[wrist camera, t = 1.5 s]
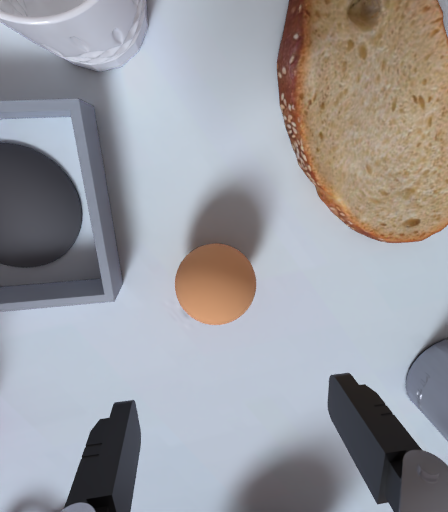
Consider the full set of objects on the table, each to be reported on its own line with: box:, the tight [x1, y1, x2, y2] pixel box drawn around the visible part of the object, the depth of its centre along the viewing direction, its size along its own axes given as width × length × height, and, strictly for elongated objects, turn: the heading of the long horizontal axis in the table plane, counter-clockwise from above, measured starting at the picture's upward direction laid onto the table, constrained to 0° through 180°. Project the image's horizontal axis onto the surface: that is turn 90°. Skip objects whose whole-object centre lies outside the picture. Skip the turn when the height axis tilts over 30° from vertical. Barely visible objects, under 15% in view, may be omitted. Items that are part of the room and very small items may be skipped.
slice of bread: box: [277, 0, 448, 243], centre depth 22 cm, size 18×18×4 cm
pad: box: [0, 143, 82, 267], centre depth 22 cm, size 9×9×1 cm
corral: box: [0, 99, 123, 312], centre depth 21 cm, size 13×13×3 cm
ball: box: [175, 243, 256, 325], centre depth 23 cm, size 6×6×6 cm
